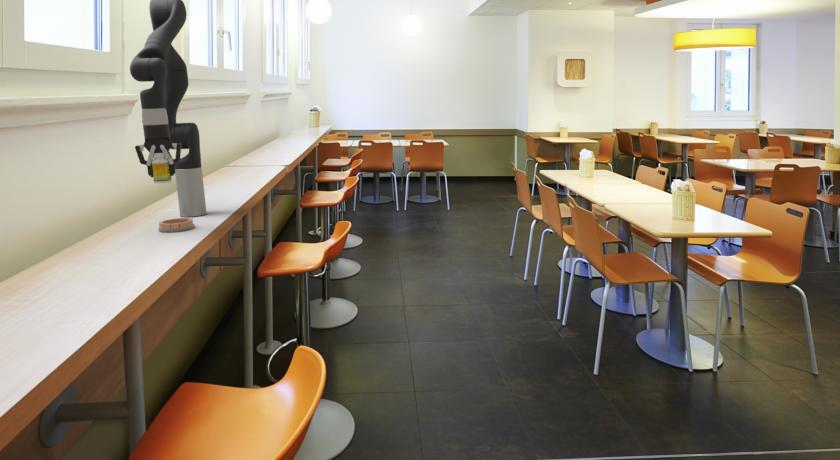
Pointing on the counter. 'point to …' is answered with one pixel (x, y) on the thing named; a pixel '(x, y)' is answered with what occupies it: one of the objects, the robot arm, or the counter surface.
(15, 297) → the counter surface
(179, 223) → the ring tray
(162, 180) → the supplement bottle
